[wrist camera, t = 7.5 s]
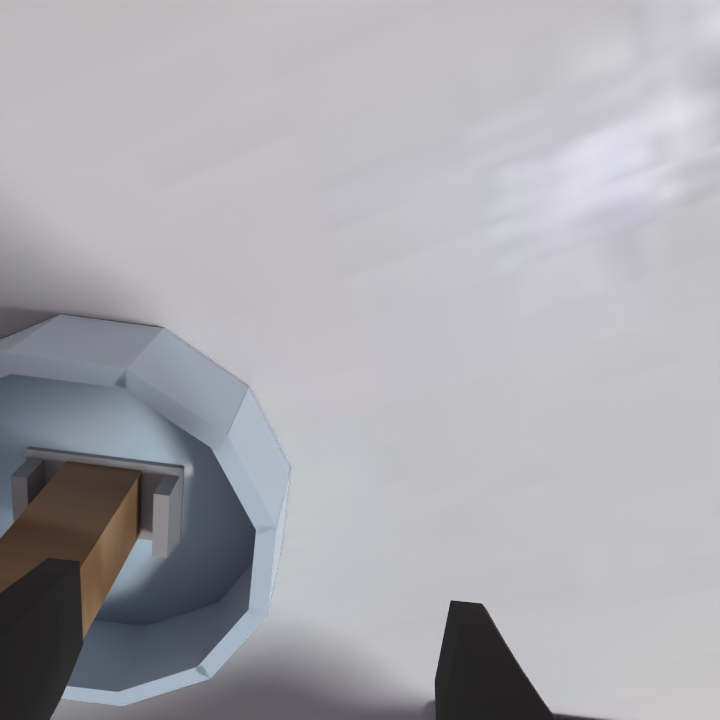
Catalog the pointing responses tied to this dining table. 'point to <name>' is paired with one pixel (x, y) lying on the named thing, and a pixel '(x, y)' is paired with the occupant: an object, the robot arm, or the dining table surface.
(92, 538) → the long wooden beam
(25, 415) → the pale blue round tray
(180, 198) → the dining table surface
